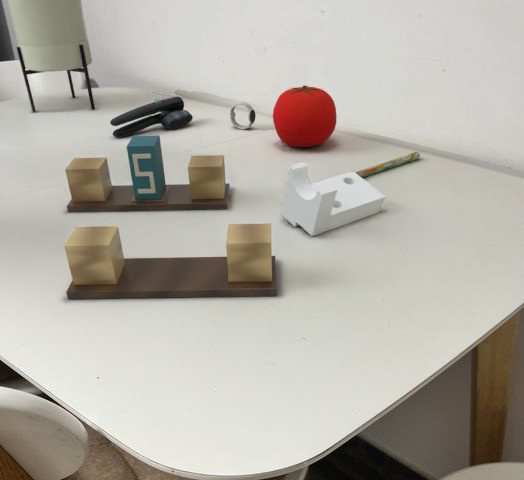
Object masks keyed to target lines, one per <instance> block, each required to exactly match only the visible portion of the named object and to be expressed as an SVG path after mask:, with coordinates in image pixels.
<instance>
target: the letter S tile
mask: <svg viewBox="0 0 524 480" xmlns="http://www.w3.org/2000/svg"><path fill="white" fill-rule="evenodd" d="M161 143H162V142H161V137H160V135H133V136H132V137H131V138H130V140H129V141H128V143H127V144H126V152H127V159H128V164H129V171H130V177H131V183H132V185H133V189H134V196H135V200H157V199H162V197H163V194H164V191H165V189H166V185H167V182H166V175H165V168H164V159H163V152H162V144H161Z"/></svg>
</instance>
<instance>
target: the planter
mask: <svg viewBox="0 0 524 480" xmlns="http://www.w3.org/2000/svg"><path fill="white" fill-rule="evenodd" d="M6 2H7V5H8V6H7V7H8V9H9V14H10V18H11V22H12V26H13V29H14V30H13V31H14V33H15V38H16V42H17V46H16V53H17V56H18V60H19V63H20V68H21V71H22V76H23V79H24V83H25V88H26V92H27V96H28V99H29V103H30V107H31V111H32V113H35V112H36V106H35V102H34V98H33V96H32V95H33V94H32V92H31V91H32V90H31V86H30V82H29V79H28V75H33V74H40V73H51V72H65V71H66V74H67V77H68V84H69V89H70V92H71V98H72V99H76V93H75V88H74V83H73V78H72V73H71V72H75V73H83V74H84V78H85V83H86V88H87V93H88V98H89V103H90V109H91V110H96V107H95V106H96V105H95V101H94V96H93V91H92V86H91V80H90V75H89V68H88V66H89V65H91V64H92V62H93V58H92V53H91V48H90V42H89V37H88V32H87V27H86V26H87V25H86V20H85V14H84V10H83V5H82V0H6Z"/></svg>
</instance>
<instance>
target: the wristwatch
mask: <svg viewBox="0 0 524 480" xmlns="http://www.w3.org/2000/svg"><path fill="white" fill-rule="evenodd" d="M237 106H244V107H245V108H246V109H247V112H248V117H247V118H248V122H249V124H248V126H244V125H241V124H240V123H238V122H237V121H236V112H235V108H236V107H237ZM229 116H230V122H231V124H232V125H233V126H234V127H235V128H237V129H240V130H246V129H248V128H250V127H251V126H253V125H254V123H255V122H256V111H255V109H254V108H253V107H252V105H251V104H249V103H248V102H245V101H244V102H243V101H241V102H239V103H237V104H235V105H233V106H231V108H230V113H229Z"/></svg>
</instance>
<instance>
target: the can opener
mask: <svg viewBox="0 0 524 480" xmlns="http://www.w3.org/2000/svg"><path fill="white" fill-rule="evenodd" d="M184 108H185V101H184V100H183V98H182V97H180V96H177V95H176V96H171V97H168V98H164V99H155V100H154V101H153V102H149V103H147V104H143V105H140V106H138V107H135V108H133V109H131V110H129V111H126V112H124V113H121V114H119V115H117V116H115V117H114V118H111V120H110V122H109V124H110V125H111V126H113V127H118V126H120V127H119V128H116V129H114V130H113V132H112V136H113V137H115V138H123V137H127V136H130V135H133V134H136V133H139V132H141V131H142V130H145V129H147V128H149V127H152V126H154V125H161V126H162V127H164V128H167V129H171V130H175V129H179V128H182V127H185V126H186V125H189V123H191V122H192V120H193V118H194V117H193V115H192V114H191V112H189V111H188V110H187V109H184ZM127 123H128V124H127ZM122 125H123V126H122Z"/></svg>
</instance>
